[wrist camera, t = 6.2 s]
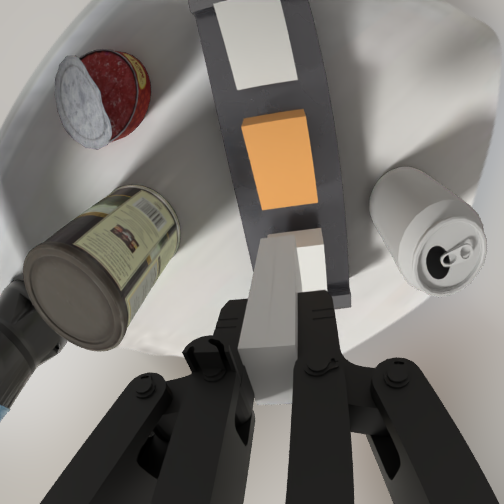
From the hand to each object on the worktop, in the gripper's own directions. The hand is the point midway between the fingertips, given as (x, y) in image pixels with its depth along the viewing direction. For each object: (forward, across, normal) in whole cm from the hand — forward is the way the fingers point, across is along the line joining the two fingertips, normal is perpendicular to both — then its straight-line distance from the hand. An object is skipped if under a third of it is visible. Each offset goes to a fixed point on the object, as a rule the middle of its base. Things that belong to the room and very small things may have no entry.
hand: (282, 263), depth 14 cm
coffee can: (+17, +17, +3) cm, 24 cm away
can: (+17, -11, +4) cm, 20 cm away
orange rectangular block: (+11, 0, -2) cm, 11 cm away
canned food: (+17, +16, -12) cm, 26 cm away
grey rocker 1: (+11, 0, +7) cm, 13 cm away
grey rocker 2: (+11, 0, -12) cm, 16 cm away
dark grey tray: (+16, 0, -2) cm, 16 cm away
